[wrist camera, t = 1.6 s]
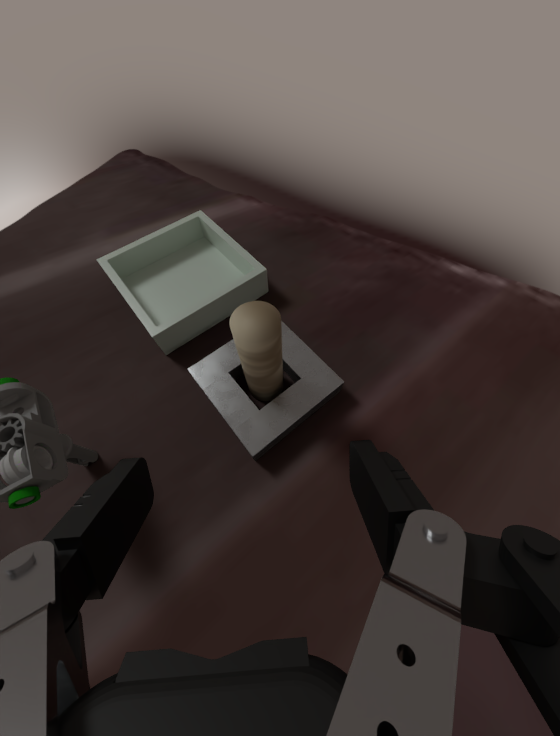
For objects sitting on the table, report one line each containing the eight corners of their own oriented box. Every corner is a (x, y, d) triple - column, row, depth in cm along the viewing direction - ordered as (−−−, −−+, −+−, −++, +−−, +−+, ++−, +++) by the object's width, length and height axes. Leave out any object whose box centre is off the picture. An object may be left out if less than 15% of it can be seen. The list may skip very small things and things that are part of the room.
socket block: (255, 461, 28) (252, 456, 26) (194, 378, 33) (187, 369, 30) (340, 391, 32) (344, 381, 29) (274, 325, 36) (273, 312, 34)
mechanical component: (92, 410, 31) (14, 369, 22) (118, 496, 27) (36, 487, 18) (65, 424, 30) (-26, 387, 22) (87, 515, 26) (-14, 514, 17)
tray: (166, 355, 34) (152, 337, 31) (113, 282, 40) (96, 259, 37) (268, 291, 39) (266, 269, 35) (207, 234, 45) (200, 210, 41)
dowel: (262, 408, 31) (249, 352, 20) (241, 383, 32) (219, 318, 22) (290, 387, 32) (291, 323, 21) (268, 363, 33) (260, 293, 23)
